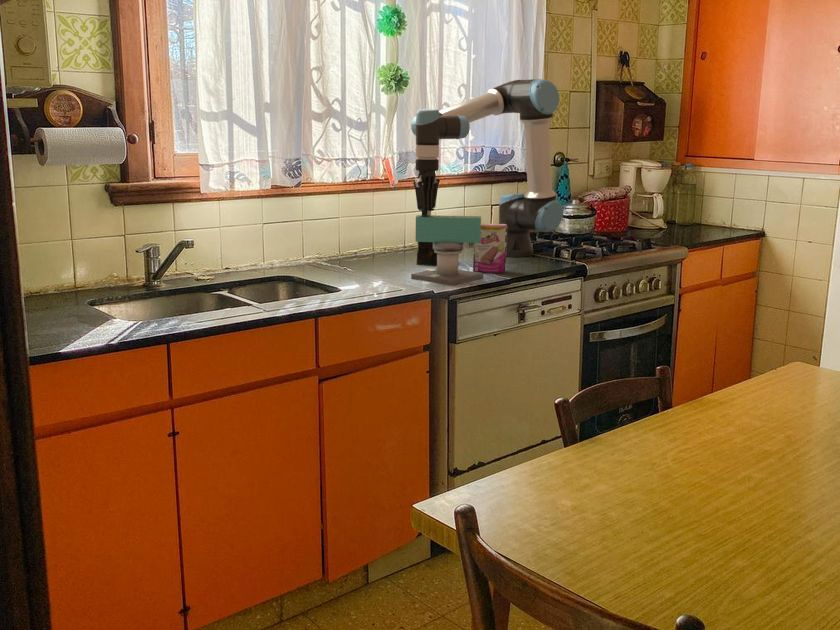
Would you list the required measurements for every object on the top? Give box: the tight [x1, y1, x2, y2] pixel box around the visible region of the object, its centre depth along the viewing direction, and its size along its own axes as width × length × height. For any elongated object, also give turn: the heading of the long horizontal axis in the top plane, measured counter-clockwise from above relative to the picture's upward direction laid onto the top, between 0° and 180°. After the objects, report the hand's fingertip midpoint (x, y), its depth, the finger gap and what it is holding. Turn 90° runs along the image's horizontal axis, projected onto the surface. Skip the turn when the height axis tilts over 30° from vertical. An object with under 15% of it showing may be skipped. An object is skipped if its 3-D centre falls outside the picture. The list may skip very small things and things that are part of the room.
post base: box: [410, 250, 484, 287], centre depth 277 cm, size 17×17×10 cm
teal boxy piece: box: [415, 214, 482, 251], centre depth 275 cm, size 10×21×10 cm, turn 87°
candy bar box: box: [472, 222, 507, 274], centre depth 287 cm, size 11×5×16 cm, turn 84°
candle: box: [416, 242, 437, 267], centre depth 303 cm, size 10×10×10 cm
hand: (426, 230), depth 279 cm, fingers closed
